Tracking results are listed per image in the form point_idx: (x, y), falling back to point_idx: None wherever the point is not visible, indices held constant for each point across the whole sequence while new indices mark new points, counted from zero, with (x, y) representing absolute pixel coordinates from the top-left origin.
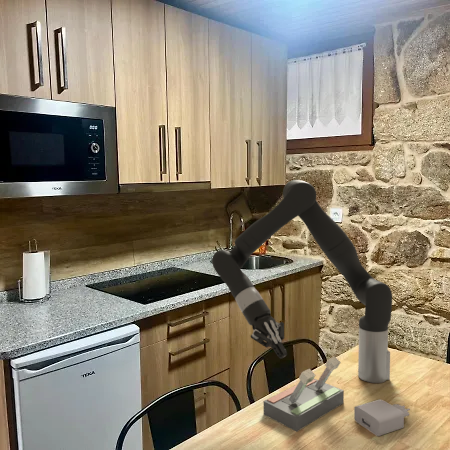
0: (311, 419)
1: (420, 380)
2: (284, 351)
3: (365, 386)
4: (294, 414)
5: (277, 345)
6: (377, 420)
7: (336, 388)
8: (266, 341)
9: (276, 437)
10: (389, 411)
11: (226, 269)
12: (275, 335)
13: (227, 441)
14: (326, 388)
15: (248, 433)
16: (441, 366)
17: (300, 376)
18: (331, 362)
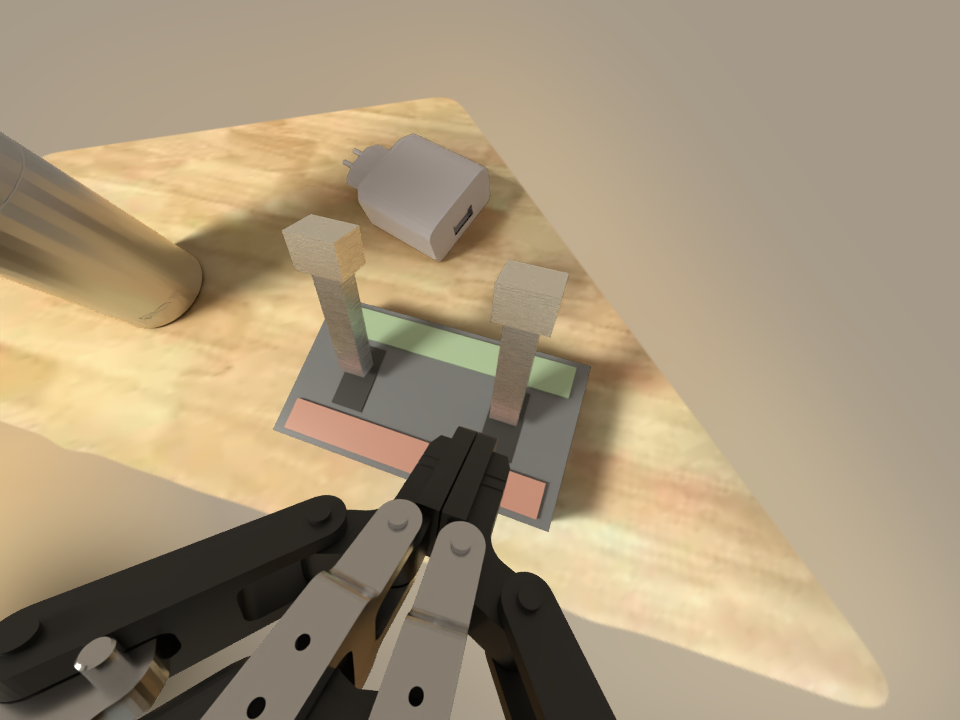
0: None
1: (156, 183)
2: (468, 442)
3: (229, 290)
4: (577, 379)
5: (468, 516)
6: (483, 168)
7: None
8: (574, 652)
9: (646, 421)
10: (423, 155)
11: None
12: (376, 598)
13: (777, 566)
14: None
15: (684, 517)
16: (58, 159)
17: (554, 321)
18: (346, 233)
